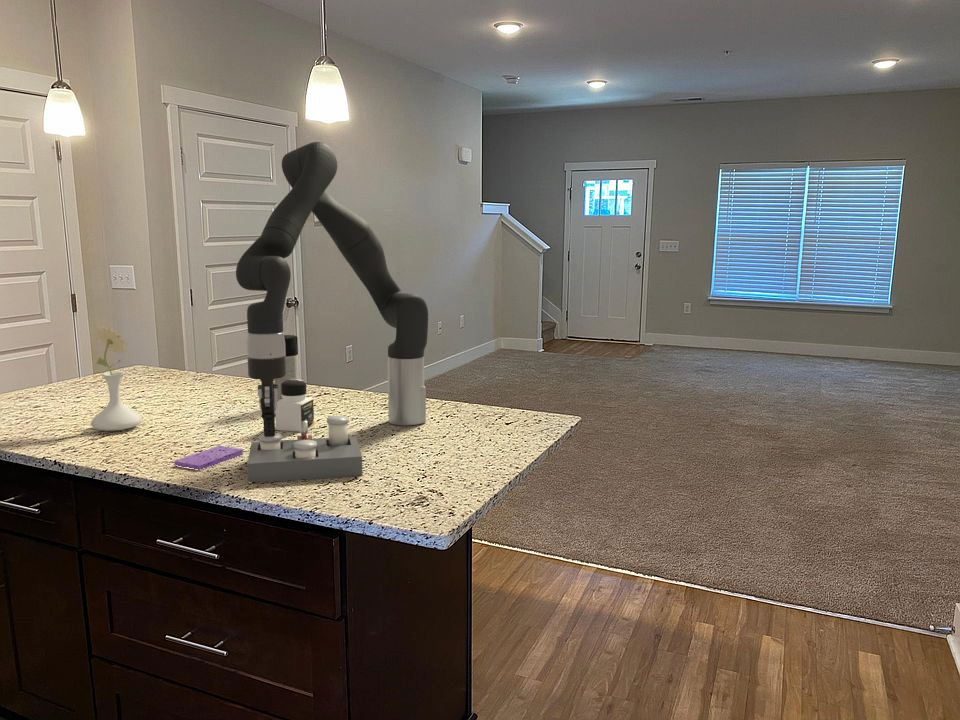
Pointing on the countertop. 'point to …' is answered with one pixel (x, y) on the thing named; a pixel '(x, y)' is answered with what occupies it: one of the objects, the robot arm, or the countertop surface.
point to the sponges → (209, 457)
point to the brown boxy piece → (304, 432)
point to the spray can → (289, 362)
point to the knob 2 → (338, 430)
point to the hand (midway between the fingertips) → (269, 435)
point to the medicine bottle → (294, 406)
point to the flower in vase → (114, 389)
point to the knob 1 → (270, 442)
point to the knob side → (305, 448)
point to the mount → (304, 462)
